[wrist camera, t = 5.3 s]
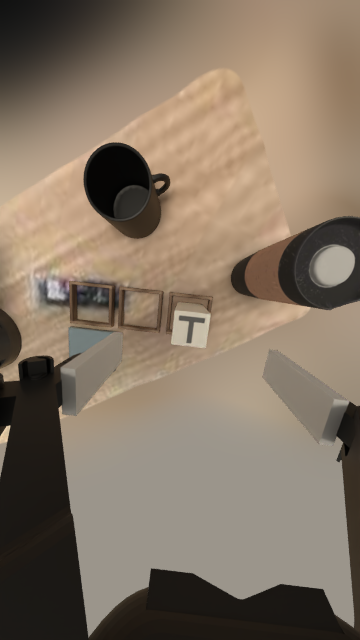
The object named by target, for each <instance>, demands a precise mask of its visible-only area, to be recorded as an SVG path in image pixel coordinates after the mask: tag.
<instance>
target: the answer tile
mask: <svg viewBox="0 0 360 640" xmlns="http://www.w3.org/2000/svg"><path fill="white" fill-rule="evenodd" d="M113 332H115V331H107V330H98V329H89V328H80V327H69V357H71V356H73V355H75V354H78V353H83V352H85V351H86V350H88V349H89V348H91V347H92V346H94V345H95V344H97V343H98V342H100V341H101V340H103V339H104V338H106V337H107V336H109V335H110V334H112V333H113ZM115 370H116V369H115ZM115 370H114V371H115Z"/></svg>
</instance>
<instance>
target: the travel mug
mask: <svg viewBox="0 0 360 640" xmlns="http://www.w3.org/2000/svg"><path fill="white" fill-rule="evenodd" d="M231 281H232V285H233V287H234V288H235V289H236V290H237V291H238V292H239V293H241V294H244V295H248V296H252V297H256V298H260V299H264V300H270V301H276V302H282V303H288V304H295V305H301V306H307V307H313V308H319V309H325V310H332V309H333V308H336V307H340V306H342V305H346V304H349V303H353V302H357V301H360V218H359V217H353V216H344V217H338V218H334V219H331V220H328V221H326V222H323V223H321V224H319V225H316V226H314V227H312V228H310V229H307V230H305V231H303V232H301V233H298V234H296V235H294V236H291V237H289V238H287V239H285V240H282V241H280V242H278V243H275V244H273V245H271V246H269V247H266V248H264V249H262V250H260V251H258V252H256V253H254V254H252V255H251V256H249V257H247V258H245V259H243V260H242V261H240V262H239V263H238V264H237V265H236V266H235V267H234V269H233V271H232V275H231Z"/></svg>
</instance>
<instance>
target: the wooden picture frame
mask: <svg viewBox="0 0 360 640" xmlns="http://www.w3.org/2000/svg"><path fill="white" fill-rule="evenodd" d="M77 285H85V286H94V287H103V288H109V323H105V322H96V321H87V320H79V319H77ZM69 291H70V323H76V324H85V325H93V326H102V327H113V326H114V305H115V286H111V285H102V284H93V283H85V282H76V281H69Z"/></svg>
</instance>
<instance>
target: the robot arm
mask: <svg viewBox="0 0 360 640" xmlns="http://www.w3.org/2000/svg"><path fill="white" fill-rule="evenodd" d="M122 344H123V333H121V332H113V333H112V334H110V335H109V336H107V337H106V338H104V339H103V340H101V341H100V342H98V343H97V344H95V345H94V346H92V347H91V348H89V349H88V350H86V351H85V352H83V353H78V354H75V355H73V356H71V357H69V358H68V359H67V360H65V361H63V362H62V363H60V364H58V365H57V366H55V367H54V360H53V358H52V357H50V356H35V357H30V358H27V359H24V360H22V361H20V362H19V364H18V368H19V378H20V381H9V382H4V379H3V375H2V374H1V373H0V436H1V434H2V432H3V431H4V429H5V428H6V426H9V425H11V426H10V431H9V436H8V442H7V447H6V452H5V457H4V462H3V467H2V472H1V477H0V640H360V406H356V405H354V404H353V403H351V402H350V401H349V400H347V399H346V398H345V397H343V396H342V395H340V394H339V393H337V392H336V391H335V390H333V389H332V388H330V387H329V386H327V385H326V384H325V383H323V382H322V381H320V380H319V379H318V378H316V377H315V376H313V375H312V374H310V373H309V372H308V371H306V370H305V369H303V368H302V367H300V366H299V365H298V364H296V363H295V362H293V361H292V360H290V359H289V358H288V357H286V356H285V355H283V354H282V353H281V352H279V351H278V350H269V352H268V356H267V360H266V365H265V369H264V373H263V378H264V380H265V381H266V382H267V383H268V384H269V386H270V387H271V388H272V389H273V390H274V392H275V393H276V394H277V395H278V396H279V398H280V399H281V400H282V401H283V402H284V403H285V404H286V406H287V407H288V408H289V409H290V411H291V412H292V413H293V414H294V415H295V417H296V418H297V419H298V420H299V421H300V422H301V424H302V425H303V426H304V427H305V428H306V430H307V431H308V432H309V433H310V434H311V435H312V437H313V438H314V439H315V440H316V441H317V443H318V444H321V445H330V446H333V445H334V442H335V439H336V437H338V438H340V439H341V441H343V445H342V447H341V450H340V453H339V455H338V458H337V461H338V462H340V460H342V469H343V480H344V494H345V506H346V518H347V530H348V542H349V555H350V567H351V579H352V592H353V603H354V628H353V627H352V626H350V625H349V624H347V623H346V622H345V621H343V620H342V619H340V618H339V617H337V616H336V615H335V614H334V612H333V610H332V608H331V606H330V604H329V601H328V599H327V597H326V595H325V592H324V590H323V589H317V588H308V587H299V586H292V585H284V584H280V585H278V586H275V587H273V588H270V589H268V590H266V591H263V592H261V593H258V594H256V595H253V596H251V597H248V598H246V599H243V600H242V599H237V598H235V597H233V596H232V595H229V594H228V593H226V592H224V591H223V590H221V589H219V588H217V587H216V586H214V585H212V584H210V583H209V582H207V581H205V580H203V579H202V578H200V577H198V576H196V575H195V574H193V573H184V572H176V571H168V570H160V569H151V573H150V581H149V587H147V588H145V589H142V590H140V591H137V592H136V593H134V594H132V595H130V596H129V597H127V598H126V599H124V600H123V601H122V602H121V603H119V604H118V605H117V606H116V607H115V608H114V609H113V610H112V611H111V612H110V613H109V614H108V615H107V616H106V617H105V618H104V619H103V620H102V621H101V623H100V624H99V625H98V627H97V628H96V629H95V630H94V632H93V633H92V634H91V635H90V637H89V638H88V631H87V623H86V615H85V607H84V599H83V592H82V583H81V575H80V569H79V568H80V567H79V560H78V552H77V544H76V536H75V528H74V521H73V516H72V514H71V509H70V501H69V493H68V485H67V477H66V468H65V460H64V452H63V443H62V435H61V426H60V418H59V409H58V408H59V407H60V406H61V405H62V414H65V415H74V416H77V414H78V413H79V412H80V411H81V410H82V408H83V407H84V406H85V405H86V404H87V402H88V401H89V400H90V399H91V398H92V396H93V395H94V394H95V393H96V392H97V390H98V389H99V388H100V387H101V386H102V384H103V383H104V382H105V381H106V379H107V378H108V377H109V376H110V375H111V373H112V372H113V371H114V370H115V369H116V367H117V366H118V365H119V364H120V363H121V361H122ZM20 347H21V339H20V334H19V331H18V329H17V327H16V325H15V323H14V322H13V320H12V319H11V318H10V317H9V316H8V315H7V314H6V313H5V312H3V311H2V310H1V309H0V368H2V367H4V366H6V365H9V364H10V363H12V362H13V361H14V360H15V359H16V358H17V356H18V354H19V352H20ZM148 588H149V589H148ZM147 597H148V598H147Z"/></svg>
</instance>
